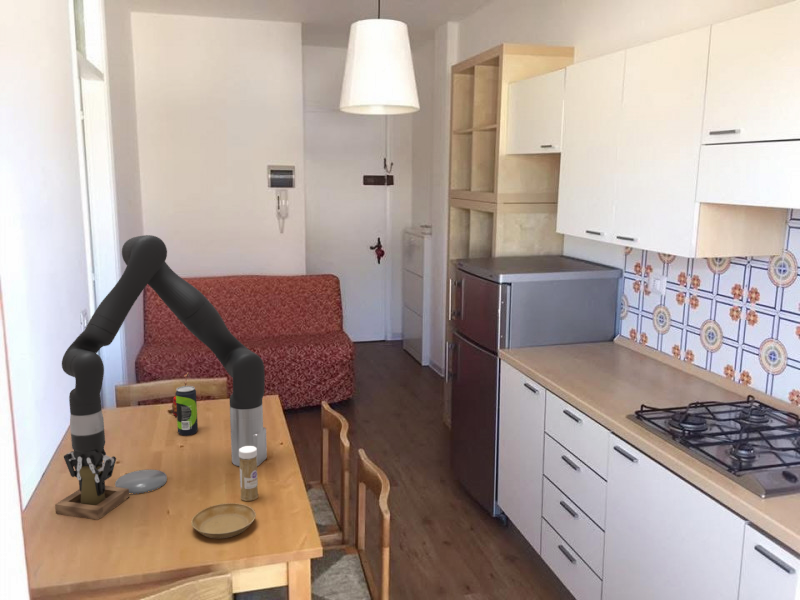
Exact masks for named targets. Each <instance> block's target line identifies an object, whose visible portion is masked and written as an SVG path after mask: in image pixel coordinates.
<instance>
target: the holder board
mask: <svg viewBox="0 0 800 600" xmlns="http://www.w3.org/2000/svg"><path fill="white" fill-rule="evenodd" d="M104 494H105V500H103V501H102V502H100V503H99V504H97V505H96V506H95V505H88V504H81V491H80V489H77V490H75V491H74V492H72V493H71V494H69V495H68V496H66V497H65V498H63V499H62V500H59V501H58V502H56V503H55V504H54V507H55V514H57V515H65V516H71V517H76V518H77V517H78V518H85V519H90V520H97V521H99V520H100V519H101V518H102V517H104V516H106V515H107V514H109V512H111V511H112V510H114V509H115V508H117V507H118V506H120V503H121V502H122V503H123V502H125V501H126V500H127V499H126V498H128V497H129V498H130V494H129V489H127V488H120V487H115V486H112V485H111V486H109V485H105V492H104ZM129 498H128V499H129ZM125 499H126V500H125ZM124 500H125V501H124ZM122 503H121V504H122ZM117 505H118V506H117ZM114 507H115V508H114ZM113 508H114V509H113Z"/></svg>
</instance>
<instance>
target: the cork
mask: <svg viewBox="0 0 800 600" xmlns="http://www.w3.org/2000/svg"><path fill="white" fill-rule="evenodd" d="M99 468H101V466H99V467H97V468H96V470H98V469H99ZM79 474H80V477H81V478H82V489H81V504H88V505H95V506H96V505H97V504H99V503H100V502H102V501H103V500H105V499H106V498H105V494H104V493H103V494H102V495H100V496H98V495H97V491H96V486H95V482H96V481H95V474H93V473H92V471H91V470H90V467H89V466H83V467H82V468H81V469H80V471H79ZM100 475H101V471H100V472H99V476H100Z"/></svg>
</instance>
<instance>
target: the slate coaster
mask: <svg viewBox="0 0 800 600" xmlns="http://www.w3.org/2000/svg"><path fill="white" fill-rule="evenodd" d="M167 477H168V476H167V474H166V473H165V472H164V471H162V470H158V469H142V470H139V469H138V470H134V471H131V472H128V473H125V474H123V475H121V476H120V477H118V478H117V479H116V481H115V483H114V485H115V486H114V487H120V488H127V489H129V493H133V494H132V495H140V494H139V493H142V494H145V493H144V492H147V493H149V492H148V491H151V492H153V491H152V490H154V491H156V490H158V489H157V488H159V489H160V488H162V487H164V486H165V484H166V483H167V482H168V481H167V480H168V479H167ZM161 486H162V487H161ZM155 489H156V490H155ZM136 493H137V494H136Z"/></svg>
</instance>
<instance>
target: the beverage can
mask: <svg viewBox="0 0 800 600" xmlns="http://www.w3.org/2000/svg"><path fill="white" fill-rule="evenodd" d="M175 390H176V392H175V393H176V408H177V417H176V424H177V425H176V426H177V433H178V434H179V435H180V436H186V437H187V436H193V435H195V434H196V433H197V432H198V429H199V428H198V426H199V425H198V407H197V405H198V404H197V390H196V387H195V386H193V385H186V386H185V385H183V386H178V387H176V389H175Z"/></svg>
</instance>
